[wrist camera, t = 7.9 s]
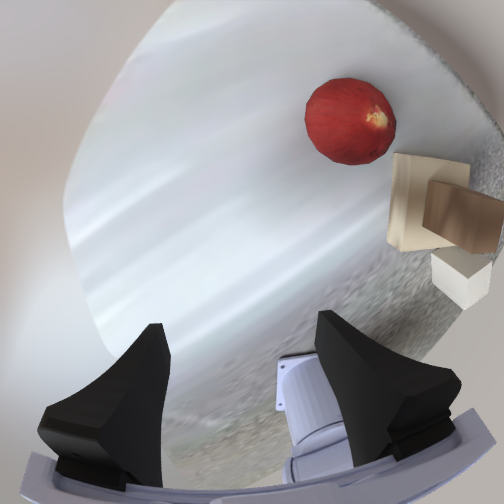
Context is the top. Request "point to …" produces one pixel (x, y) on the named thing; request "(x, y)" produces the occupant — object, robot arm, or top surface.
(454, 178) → the beech slab
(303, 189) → the top surface
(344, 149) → the onion
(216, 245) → the top surface
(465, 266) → the offwhite block
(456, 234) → the walnut block
